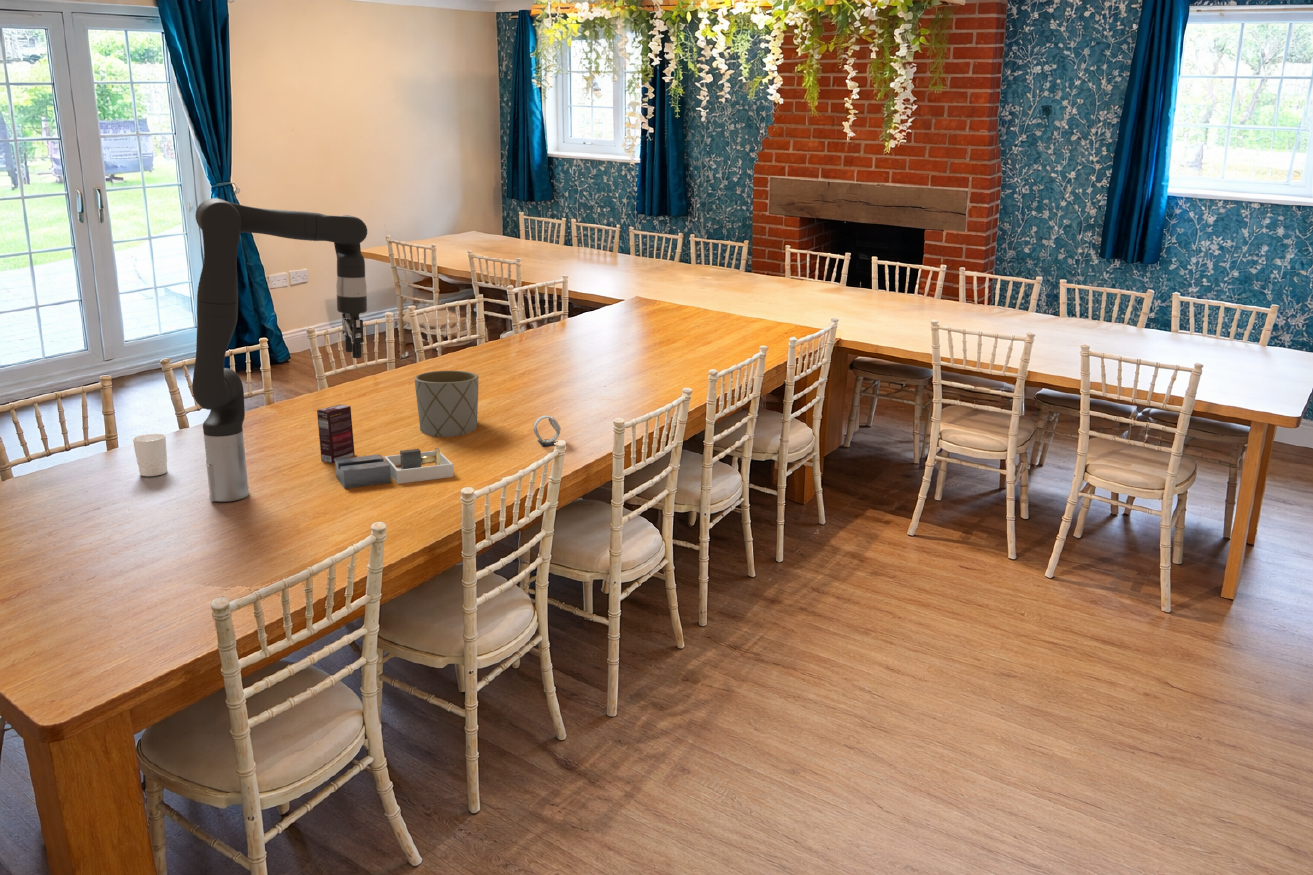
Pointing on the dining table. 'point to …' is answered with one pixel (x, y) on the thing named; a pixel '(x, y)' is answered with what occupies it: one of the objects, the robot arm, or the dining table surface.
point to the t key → (417, 458)
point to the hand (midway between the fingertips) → (353, 354)
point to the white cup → (151, 454)
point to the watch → (554, 424)
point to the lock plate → (362, 471)
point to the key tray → (419, 469)
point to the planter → (447, 402)
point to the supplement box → (335, 433)
